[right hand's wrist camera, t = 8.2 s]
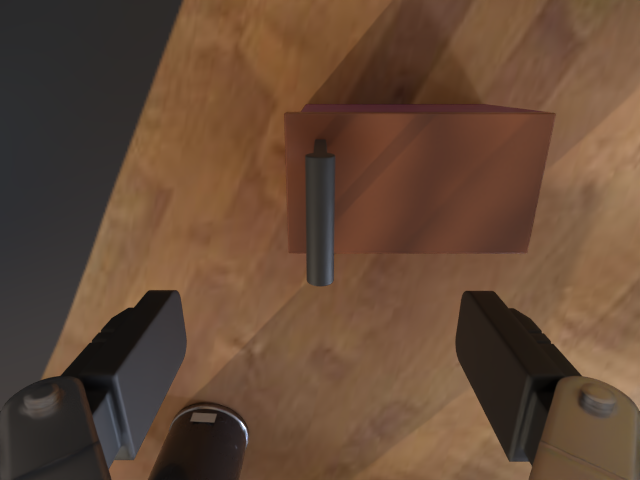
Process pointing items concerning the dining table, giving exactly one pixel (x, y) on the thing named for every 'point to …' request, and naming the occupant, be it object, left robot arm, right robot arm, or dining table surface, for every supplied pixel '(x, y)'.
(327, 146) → the lid
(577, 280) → the dining table surface
